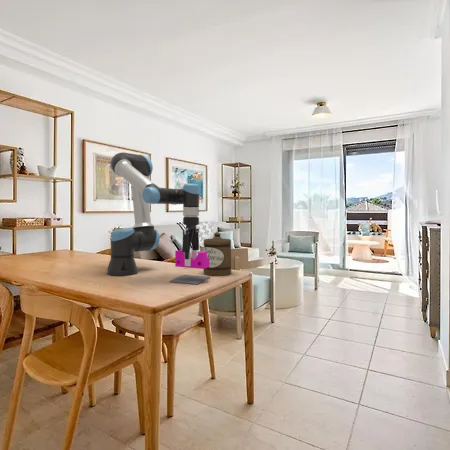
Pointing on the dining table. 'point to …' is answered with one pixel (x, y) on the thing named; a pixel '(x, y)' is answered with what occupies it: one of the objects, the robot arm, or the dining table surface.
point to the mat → (190, 279)
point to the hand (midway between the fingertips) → (190, 264)
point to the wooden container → (218, 256)
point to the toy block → (199, 262)
